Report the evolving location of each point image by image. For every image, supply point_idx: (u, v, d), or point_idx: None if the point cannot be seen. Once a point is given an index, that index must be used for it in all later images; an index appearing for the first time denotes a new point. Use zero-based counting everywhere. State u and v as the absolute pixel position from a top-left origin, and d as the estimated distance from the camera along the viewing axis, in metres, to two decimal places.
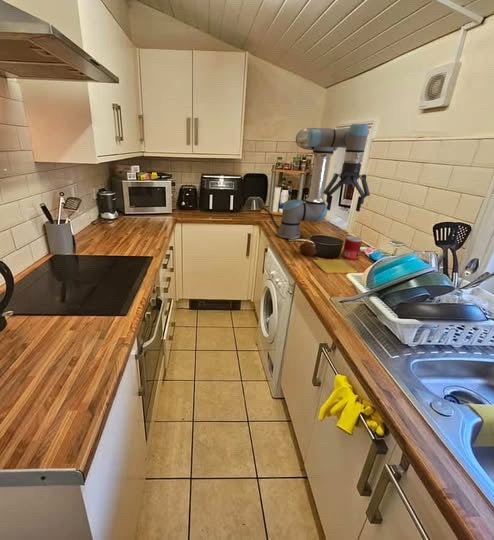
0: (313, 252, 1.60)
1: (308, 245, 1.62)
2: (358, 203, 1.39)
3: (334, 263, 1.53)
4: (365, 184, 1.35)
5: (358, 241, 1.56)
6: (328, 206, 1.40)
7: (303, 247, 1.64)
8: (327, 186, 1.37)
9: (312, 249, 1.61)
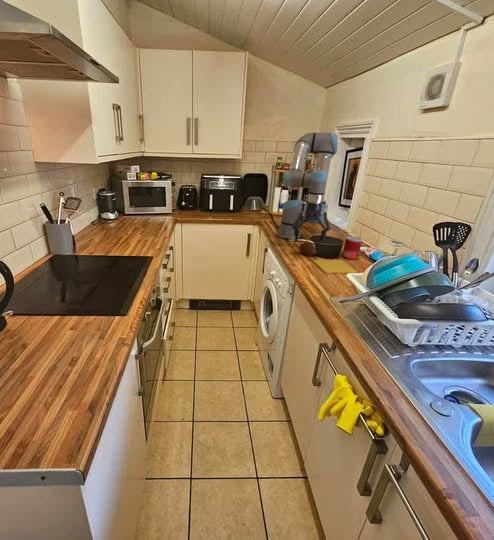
0: (313, 252, 1.60)
1: (308, 245, 1.62)
2: (321, 236, 1.61)
3: (334, 263, 1.53)
4: (326, 220, 1.57)
5: (358, 241, 1.56)
6: (295, 238, 1.62)
7: (303, 247, 1.64)
8: (294, 221, 1.60)
9: (312, 249, 1.61)
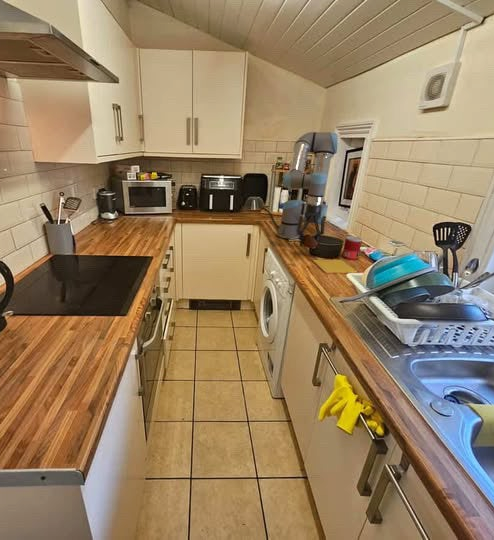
0: (314, 244, 1.59)
1: (309, 237, 1.61)
2: None
3: (334, 263, 1.53)
4: (323, 224, 1.58)
5: (358, 241, 1.56)
6: (300, 243, 1.64)
7: (304, 239, 1.62)
8: (297, 226, 1.61)
9: (313, 241, 1.59)
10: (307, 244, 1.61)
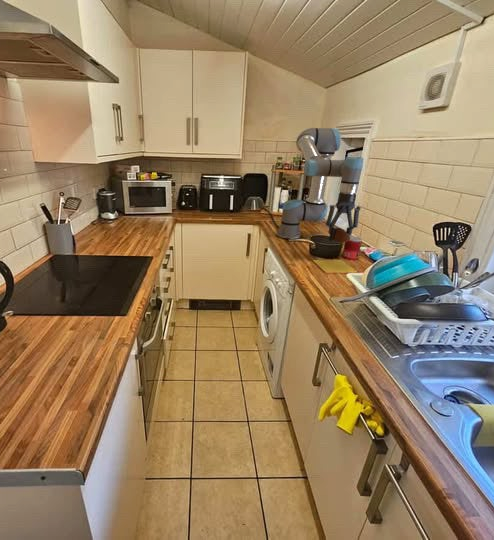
0: (347, 238, 1.40)
1: (341, 230, 1.42)
2: None
3: (334, 263, 1.53)
4: (357, 216, 1.40)
5: (358, 241, 1.56)
6: (330, 237, 1.45)
7: (335, 233, 1.44)
8: (327, 218, 1.43)
9: (346, 235, 1.41)
10: (338, 238, 1.42)
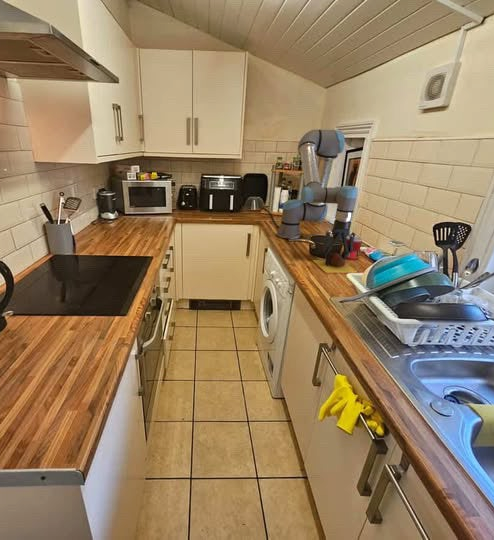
0: (342, 263, 1.45)
1: (336, 255, 1.47)
2: None
3: None
4: (352, 242, 1.44)
5: (358, 241, 1.56)
6: (326, 261, 1.50)
7: (330, 258, 1.49)
8: None
9: (341, 260, 1.45)
10: (334, 263, 1.47)
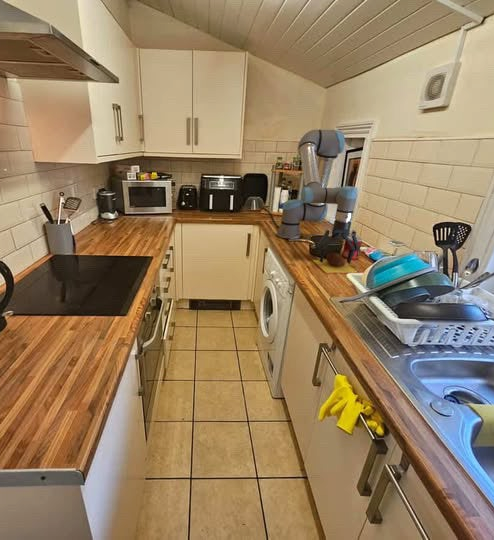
0: (342, 263, 1.45)
1: (336, 256, 1.47)
2: (349, 256, 1.48)
3: None
4: (355, 240, 1.44)
5: (358, 241, 1.56)
6: (321, 258, 1.49)
7: (330, 258, 1.49)
8: (320, 240, 1.47)
9: (341, 260, 1.45)
10: (334, 263, 1.47)
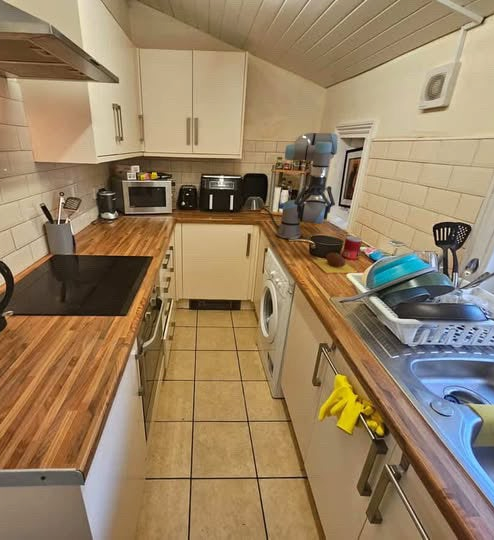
0: (342, 263, 1.45)
1: (336, 256, 1.47)
2: (325, 212, 1.54)
3: None
4: (330, 195, 1.49)
5: (358, 241, 1.56)
6: (298, 215, 1.54)
7: (330, 258, 1.49)
8: (297, 197, 1.51)
9: (341, 260, 1.45)
10: (334, 263, 1.47)
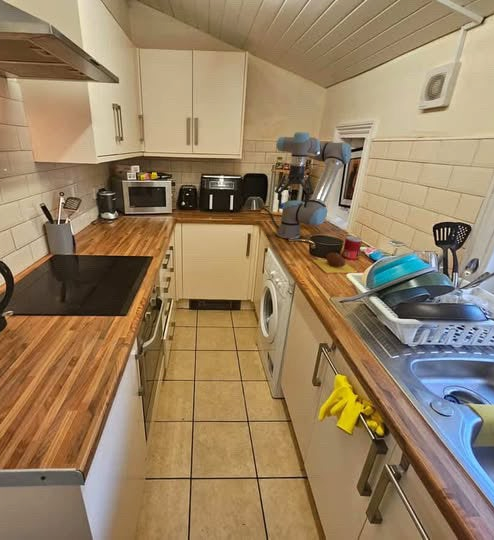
0: (342, 263, 1.45)
1: (336, 256, 1.47)
2: (305, 200, 1.60)
3: None
4: (309, 184, 1.56)
5: (358, 241, 1.56)
6: (279, 203, 1.61)
7: (330, 258, 1.49)
8: (277, 186, 1.59)
9: (341, 260, 1.45)
10: (334, 263, 1.47)
